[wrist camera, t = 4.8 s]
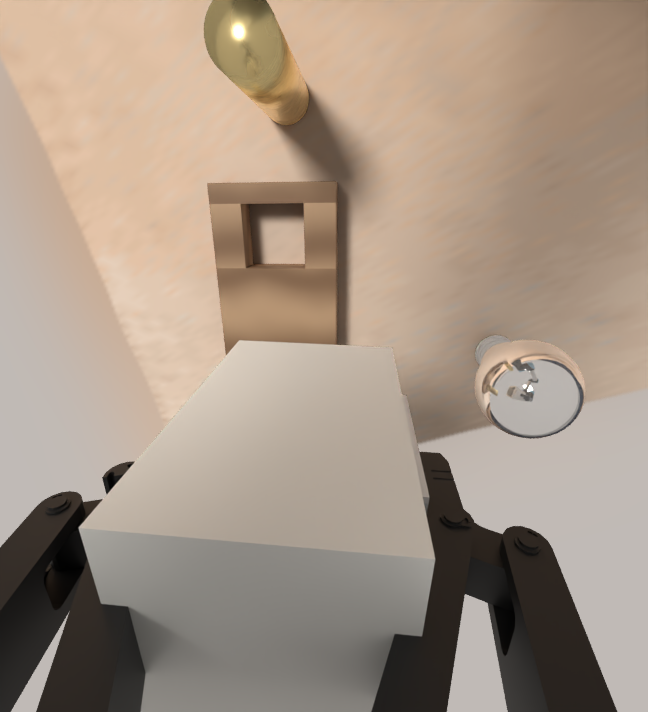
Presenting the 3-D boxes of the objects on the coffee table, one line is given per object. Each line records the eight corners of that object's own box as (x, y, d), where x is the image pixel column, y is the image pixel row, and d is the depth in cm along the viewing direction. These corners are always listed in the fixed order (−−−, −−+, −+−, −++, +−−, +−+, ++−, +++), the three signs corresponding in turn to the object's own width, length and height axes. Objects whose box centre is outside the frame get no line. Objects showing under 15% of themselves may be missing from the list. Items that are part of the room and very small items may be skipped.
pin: (261, 71, 29) (199, -12, 18) (308, 69, 29) (275, -16, 18) (264, 125, 31) (208, 80, 19) (309, 124, 30) (279, 77, 19)
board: (218, 184, 32) (143, 174, 21) (337, 182, 32) (324, 171, 20) (239, 398, 40) (192, 473, 28) (337, 401, 39) (327, 480, 28)
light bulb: (546, 328, 34) (634, 388, 23) (503, 393, 37) (565, 474, 26) (475, 298, 34) (531, 344, 23) (437, 365, 36) (471, 436, 25)
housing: (239, 340, 18) (78, 527, 8) (392, 347, 17) (435, 559, 7) (248, 464, 21) (137, 724, 10) (381, 473, 20) (400, 758, 10)
